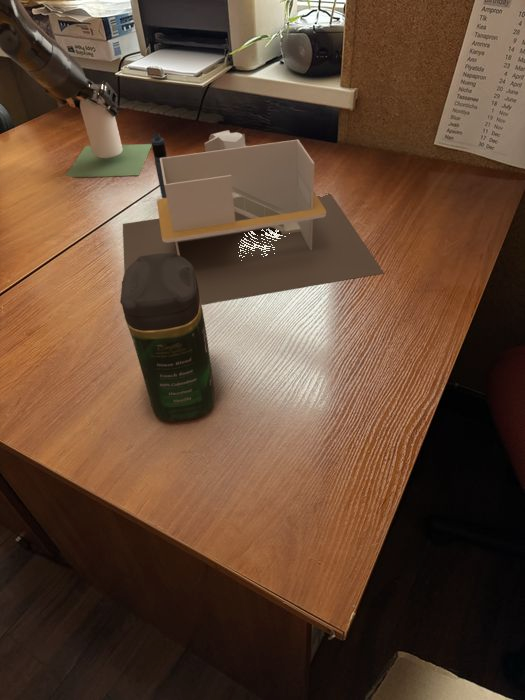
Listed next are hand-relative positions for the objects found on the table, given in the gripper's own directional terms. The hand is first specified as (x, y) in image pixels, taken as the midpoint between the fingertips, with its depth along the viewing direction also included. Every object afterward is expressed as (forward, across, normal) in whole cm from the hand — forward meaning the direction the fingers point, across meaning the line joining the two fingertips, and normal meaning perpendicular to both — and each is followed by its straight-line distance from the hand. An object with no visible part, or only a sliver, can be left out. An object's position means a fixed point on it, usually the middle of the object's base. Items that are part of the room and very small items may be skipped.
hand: (102, 111), depth 107 cm
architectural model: (-12, -40, +27) cm, 50 cm away
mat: (+6, 0, +8) cm, 10 cm away
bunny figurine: (+11, -26, +4) cm, 29 cm away
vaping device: (-3, -21, +18) cm, 27 cm away
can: (+5, 0, +7) cm, 9 cm away
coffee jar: (-35, -43, +51) cm, 75 cm away
